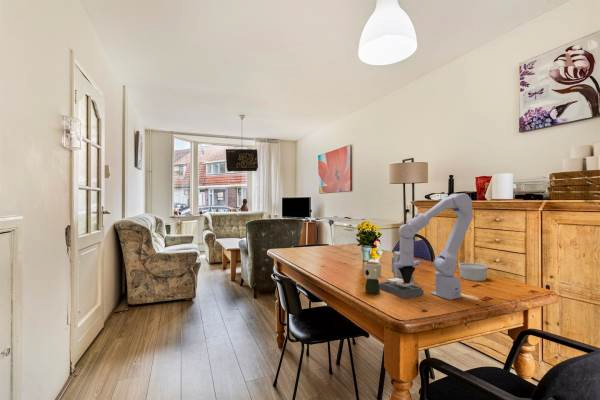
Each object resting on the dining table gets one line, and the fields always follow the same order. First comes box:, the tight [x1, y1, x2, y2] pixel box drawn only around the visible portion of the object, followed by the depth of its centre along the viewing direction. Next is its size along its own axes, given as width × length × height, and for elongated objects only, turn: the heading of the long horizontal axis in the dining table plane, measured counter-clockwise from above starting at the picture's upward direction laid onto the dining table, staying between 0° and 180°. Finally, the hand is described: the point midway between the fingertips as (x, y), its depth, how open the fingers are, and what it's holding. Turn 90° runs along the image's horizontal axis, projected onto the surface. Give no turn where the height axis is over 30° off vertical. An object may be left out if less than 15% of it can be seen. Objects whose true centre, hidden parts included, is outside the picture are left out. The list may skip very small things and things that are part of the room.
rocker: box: [386, 277, 415, 287], centre depth 133 cm, size 10×6×2 cm, turn 27°
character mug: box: [363, 261, 382, 294], centre depth 131 cm, size 11×7×13 cm, turn 2°
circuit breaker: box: [391, 250, 415, 282], centre depth 149 cm, size 8×14×15 cm, turn 174°
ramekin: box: [458, 262, 489, 282], centre depth 154 cm, size 13×13×7 cm
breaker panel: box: [379, 281, 425, 299], centre depth 133 cm, size 16×11×3 cm
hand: (406, 283), depth 129 cm, fingers closed, pressing on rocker
